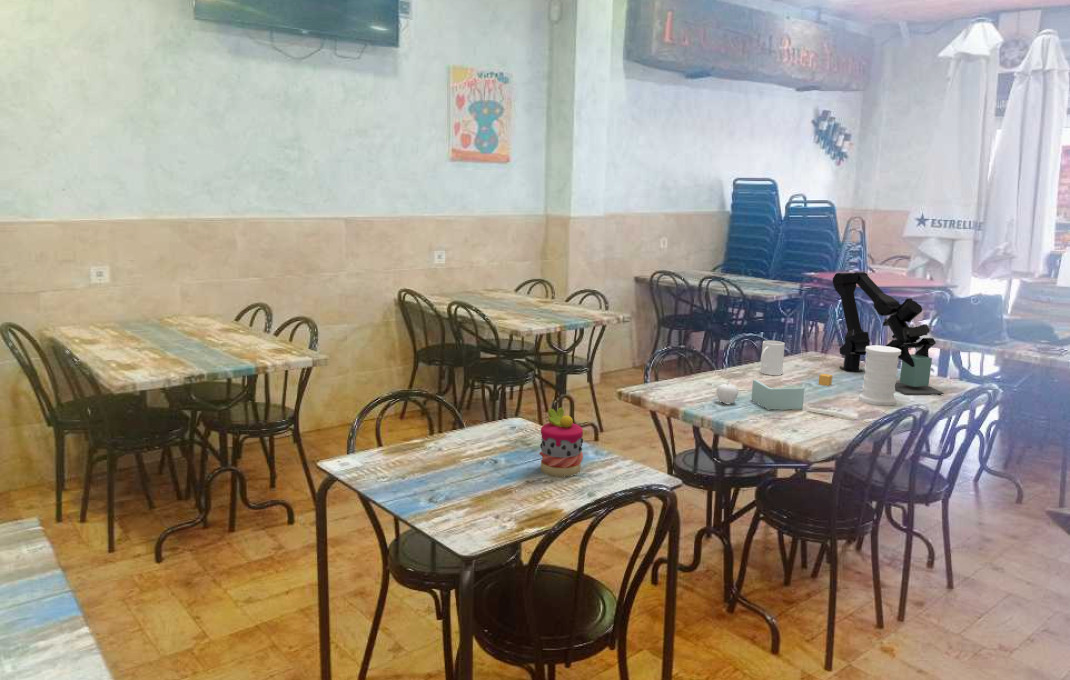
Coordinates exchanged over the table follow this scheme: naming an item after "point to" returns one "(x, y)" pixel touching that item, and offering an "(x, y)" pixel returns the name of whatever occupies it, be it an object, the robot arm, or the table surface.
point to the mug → (772, 357)
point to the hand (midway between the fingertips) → (921, 365)
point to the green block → (916, 371)
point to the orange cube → (825, 379)
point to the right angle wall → (777, 396)
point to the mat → (915, 390)
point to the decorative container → (880, 375)
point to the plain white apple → (727, 392)
